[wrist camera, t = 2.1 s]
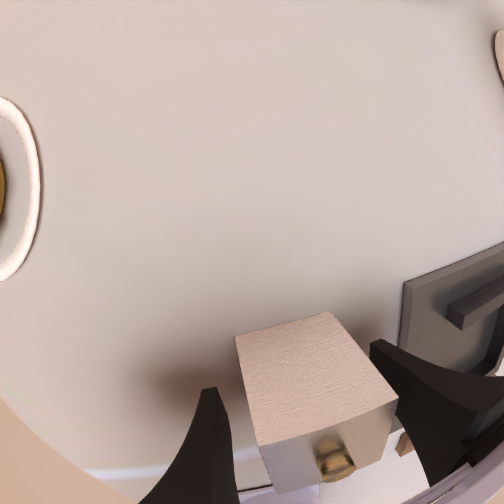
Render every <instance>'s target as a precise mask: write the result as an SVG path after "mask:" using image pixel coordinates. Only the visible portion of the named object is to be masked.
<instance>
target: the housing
mask: <svg viewBox="0 0 504 504" xmlns="http://www.w3.org/2000/svg"><path fill="white" fill-rule="evenodd" d="M235 341H236V346H237V351H238V356H239V361H240V366H241V371H242V376H243V381H244V385H245V390H246V395H247V400H248V404H249V409H250V413H251V418H252V422H253V427H254V431H255V435H256V440H257V444H258V448H259V450H260V453H261V456H262V458H263V461H264V464H265V466H266V469H267V472H268V474H269V477H270V479H271V482H272V484H273V487H274V489H275V492H276V494H277V495H280V494H284V493H288V492H292V491H296V490H299V489H303V488H306V487H310V486H313V485H316V484H320V483H323V482H325V483H331V482H335V481H338V480H341V479H343V478H345V477H347V476H349V475H350V474H352V473H353V472H354V471H356V470H358V469H360V468H363V467H365V466H368V465H370V464H372V463H374V462H377V461H379V460H380V459H381V457H382V454H383V451H384V448H385V445H386V442H387V439H388V435H389V432H390V429H391V425H392V422H393V418H394V415H395V411H396V407H397V403H398V399H399V397H398V395H397V394H396V393H395V392H394V390H393V389H392V388H391V386H390V385H389V384H388V383H387V381H386V380H385V379H384V377H383V376H382V375H381V374H380V372H379V371H378V370H377V369H376V367H375V366H374V365H373V364H372V362H371V361H370V360H369V358H368V357H367V356H366V355H365V353H364V352H363V351H362V350H361V348H360V347H359V346H358V345H357V343H356V342H355V341H354V340H353V338H352V337H351V336H350V335H349V333H348V332H347V331H346V330H345V328H344V327H343V326H342V325H341V324H340V322H339V321H338V320H337V319H336V317H335V316H334V315H333V314H332V312H331V311H328V312H325V313H321V314H318V315H314V316H311V317H307V318H304V319H300V320H296V321H293V322H289V323H285V324H282V325H278V326H274V327H270V328H266V329H262V330H258V331H254V332H250V333H246V334H241V335H237V336H235Z"/></svg>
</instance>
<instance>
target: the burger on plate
mask: <svg viewBox="0 0 504 504" xmlns="http://www.w3.org/2000/svg"><path fill="white" fill-rule="evenodd" d="M0 116H1V117H3V118H5V119H6V120H8V121H9V122H10V124H11V125H12V126H13V127H14V128H15V130H16V132H17V133H18V135H19V137H20V139H21V141H22V144H23V147H24V150H25V153H26V159H27V164H28V169H29V184H30V189H29V206H28V212H27V219H26V223H25V226H24V229H23V233H22V236H21V238H20V240H19V242H18V244H17V246H16V248H15V249H14V251H13V252H12V253H11V255H10V256H9V257H8V258H6V259H5V260H4V261H3V262H1V263H0V282H1V281H4V280H6V279H8V278H9V277H10V276H11V275H13V274H14V273H15V272H16V271H17V270H18V268H19V267H20V266H21V264H22V263H23V262H24V260H25V258H26V255H27V253H28V251H29V249H30V247H31V244H32V241H33V237H34V234H35V230H36V226H37V219H38V213H39V204H40V173H39V162H38V156H37V151H36V145H35V142H34V139H33V136H32V133H31V130H30V127H29V125H28V123H27V121H26V119H25V118H24V116H23V114H22V112H21V111H20V110H19V109H18V108H17V107H16V106H15V105H14V104H13V103H12V102H10V101H8V100H6V99H4V98H2V97H0ZM4 193H5V180H4V173H3V168H2V164H1V161H0V214H1V211H2V206H3V202H4Z"/></svg>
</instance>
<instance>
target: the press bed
mask: <svg viewBox="0 0 504 504" xmlns="http://www.w3.org/2000/svg"><path fill="white" fill-rule="evenodd" d="M398 348H400V349H402V350H404V351H406V352H408V353H410V354H412V355H414V356H416V357H418V358H421V359H423V360H425V361H427V362H430V363H432V364H435V365H438V366H440V367H443V368H447V369H450V370H453V371H457V372H462V373H467V374H473V375H480V376H492V375H493V374H495V373H496V372H497V371H498V369H499V367H500V365H501V362H502V360H503V357H504V242H502V243H500V244H498V245H496V246H494V247H492V248H489V249H487V250H485V251H483V252H480V253H478V254H476V255H473V256H471V257H469V258H466V259H464V260H461V261H459V262H457V263H454V264H452V265H449V266H447V267H444V268H442V269H439V270H437V271H434V272H431V273H429V274H426V275H423V276H421V277H418V278H415V279H413V280H410V281H407V282H404V295H403V308H402V319H401V329H400V338H399V345H398ZM401 428H403V426H402V424H401V423H400V421H399V420H398V418H397V417H396V415H394V418H393V422H392V425H391V429H390V432H389V434H391V433H393V432H395V431H397V430H399V429H401Z"/></svg>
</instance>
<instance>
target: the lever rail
mask: <svg viewBox="0 0 504 504" xmlns="http://www.w3.org/2000/svg"><path fill="white" fill-rule="evenodd" d="M492 376H496V375H495V374H493V375H492ZM413 450H415V448H414V446H413V444H412V442H411V440H410V438H409V436H408V435H407V433H406V432H405V433H403V434H402V436H401V438H400V441H399V443H398V446H397V449H396V451H397V453H398V454H399V456H400V457H402V456H403V455H405V454H407V453H409V452H411V451H413Z"/></svg>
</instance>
